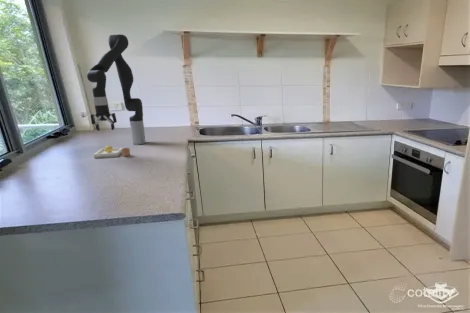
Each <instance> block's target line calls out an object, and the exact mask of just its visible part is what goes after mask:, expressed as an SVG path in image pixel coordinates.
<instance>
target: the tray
mask: <svg viewBox="0 0 470 313" xmlns="http://www.w3.org/2000/svg"><path fill="white" fill-rule="evenodd" d="M112 148H113V151H112V152H111V153H106V152H105V150H104V149H105V148H100V149H99V150H98V151H96V152H95V153H94V154H93V158H94V159H103V158H118V157H119V156H120V155H122V151H121V149H123V148H124V147H112Z"/></svg>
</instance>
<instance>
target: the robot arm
mask: <svg viewBox="0 0 470 313" xmlns="http://www.w3.org/2000/svg"><path fill="white" fill-rule="evenodd" d="M107 41H108V46H109V50H108V51H107V52H105V53H104V54H103V55H102V56H101V57H100V58H99V59H98V61H97V63H96V64H95V65H93V66H92V67H91V68H90V69H89V70H88V71H87V73H86V74H87V75H86V77H87V80H88V81H89V82H91V83H92V84H93V83H95V84H96V85H95V86H94V87H93V88H92V95H93V104H94V109H95V113H93V114H92V113H91V114H90V119H91V124H92V125H95V129H96V131H98V132H100V130H101V128H100V124H99V123H100V122H102V121H104V122H105V121H107V122H109V124H110V127H111V130H112V131H113V130H115V124H116V123H117V122H118V121H117V117H116V113H115V112H113V113H111V112H110V108H109V102H108V97H107V92H106V86H107V84H106V83H107V75H106V73H107V72H109V70H110V68H111V67H112V65H113V64H115V67H116V72H117V76H118V80H119V82H120V87H121V90H122V97H123V101H124V107H125V109H126V111H128V112H134V114H133V115H131V116H130V117H129V123H130V124H129V125H130V131H131V141H132V144H133V145H135V146H136V145H144V144H146V143H147V141H146V133H145V124H144V112H143V111H144V110H143V102H142V100H141V99H140V97H139V98H138V97H134V98H133V97H132V96H131V90H132V86H133V83H134V75H133V71H132V68H131V67H130V65H129V64H128V63H127V62H126V60H125V59H124V57H123V55H122V54H123V52H125V51H126V50H127V48H129V47H128V46H129V39H128V37H127V36H126V35H124V34H110V35H109V36H108V40H107ZM111 117H112V119H111ZM96 118H97V119H96Z"/></svg>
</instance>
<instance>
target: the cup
mask: <svg viewBox="0 0 470 313" xmlns="http://www.w3.org/2000/svg"><path fill="white" fill-rule="evenodd" d="M122 148H123V149H121V151H122V153H121V155H122V157H123V158H127V157H130V156H131V148H129V147H122Z"/></svg>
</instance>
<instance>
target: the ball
mask: <svg viewBox="0 0 470 313" xmlns="http://www.w3.org/2000/svg"><path fill="white" fill-rule="evenodd" d="M113 148H114V147H113V146H112V145H106V146H105V147H104V148H103V149H104V150H105V152H106V153H111V152H112V151H113Z"/></svg>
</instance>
